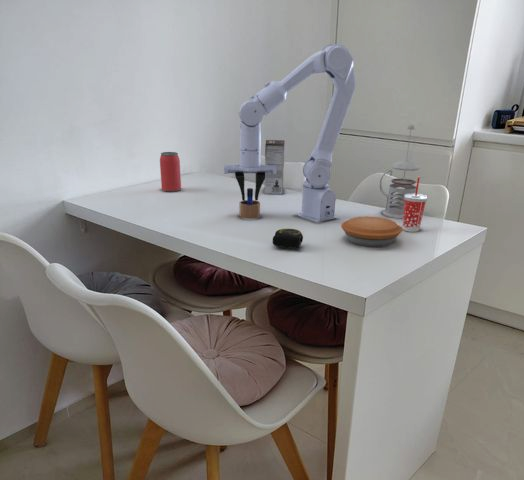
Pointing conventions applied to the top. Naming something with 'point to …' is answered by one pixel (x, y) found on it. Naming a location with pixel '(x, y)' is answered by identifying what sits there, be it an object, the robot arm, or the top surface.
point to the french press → (398, 207)
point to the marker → (249, 196)
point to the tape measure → (288, 238)
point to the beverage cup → (413, 210)
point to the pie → (371, 231)
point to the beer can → (170, 171)
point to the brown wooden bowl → (249, 209)
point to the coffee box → (274, 158)
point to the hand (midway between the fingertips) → (249, 199)
